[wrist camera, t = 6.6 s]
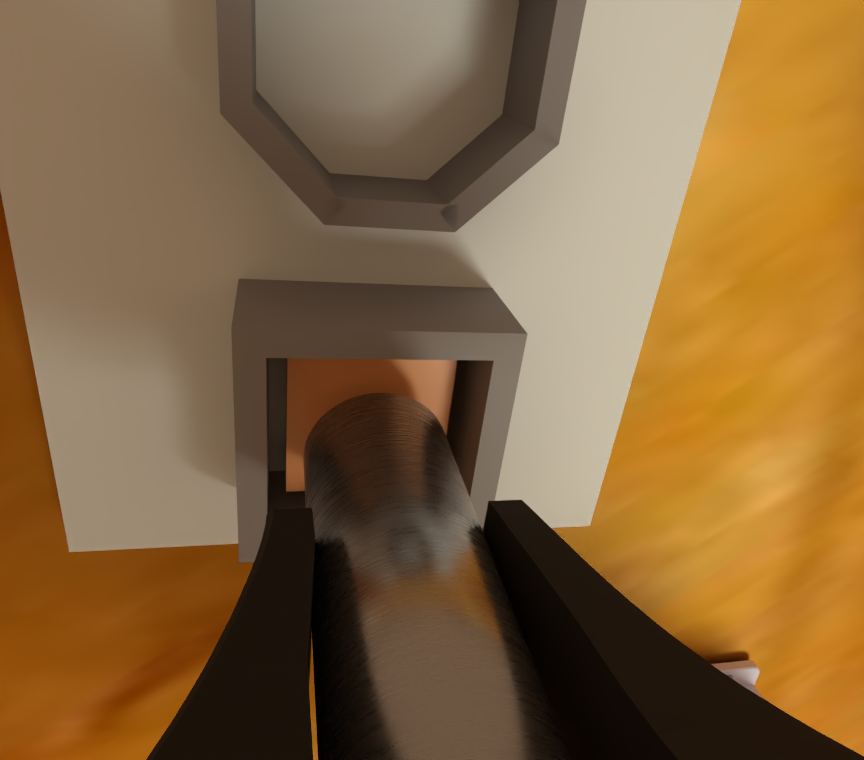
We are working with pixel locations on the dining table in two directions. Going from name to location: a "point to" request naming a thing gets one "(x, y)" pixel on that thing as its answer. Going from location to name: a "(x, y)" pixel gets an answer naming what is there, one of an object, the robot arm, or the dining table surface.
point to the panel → (338, 233)
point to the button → (355, 394)
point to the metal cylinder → (411, 601)
